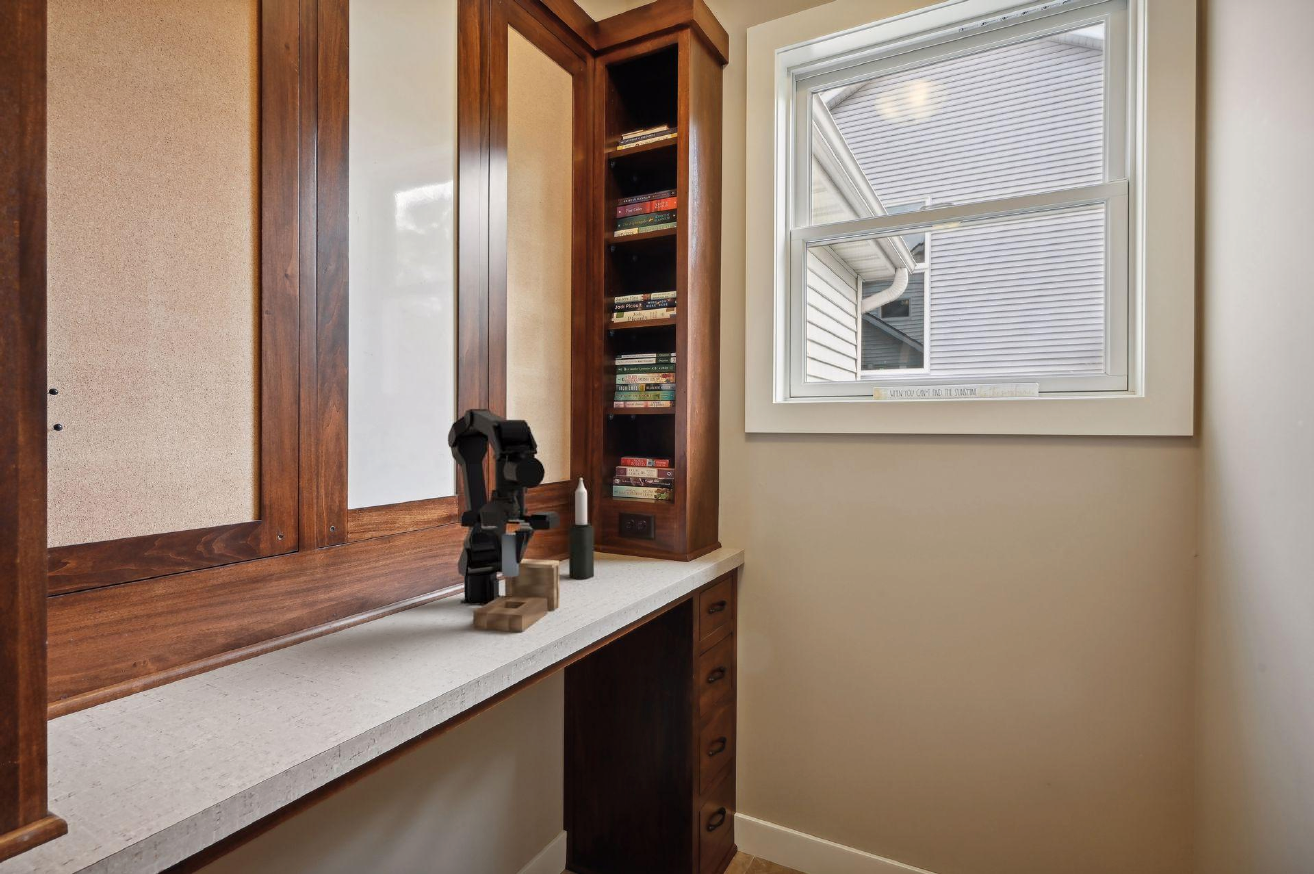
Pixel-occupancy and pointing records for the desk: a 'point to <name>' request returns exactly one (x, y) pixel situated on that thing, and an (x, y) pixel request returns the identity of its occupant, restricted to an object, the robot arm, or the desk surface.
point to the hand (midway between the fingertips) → (510, 562)
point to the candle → (581, 539)
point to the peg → (509, 555)
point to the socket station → (522, 598)
